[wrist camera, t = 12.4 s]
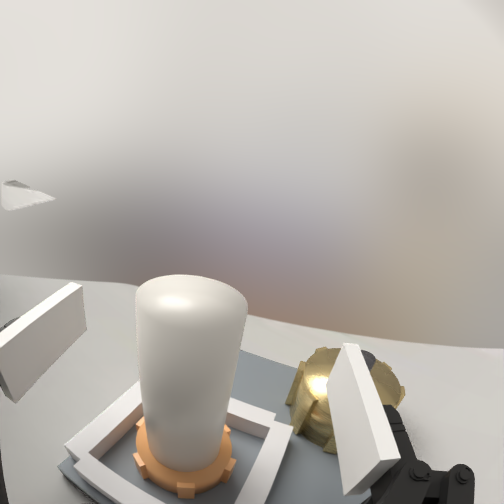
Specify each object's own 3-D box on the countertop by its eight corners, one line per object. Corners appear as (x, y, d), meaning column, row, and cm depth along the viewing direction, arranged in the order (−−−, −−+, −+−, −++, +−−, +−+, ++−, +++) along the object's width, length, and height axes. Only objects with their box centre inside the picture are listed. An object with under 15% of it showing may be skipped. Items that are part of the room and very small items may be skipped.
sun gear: (270, 437, 16) (294, 378, 14) (296, 370, 24) (315, 314, 22) (382, 462, 14) (426, 408, 12) (381, 392, 21) (409, 339, 20)
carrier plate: (62, 473, 9) (48, 454, 9) (200, 342, 27) (202, 322, 26) (352, 588, 5) (374, 583, 4) (375, 397, 22) (386, 378, 21)
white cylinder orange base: (117, 463, 11) (76, 296, 8) (165, 411, 16) (168, 256, 13) (209, 512, 10) (241, 378, 6) (245, 447, 15) (290, 294, 11)
